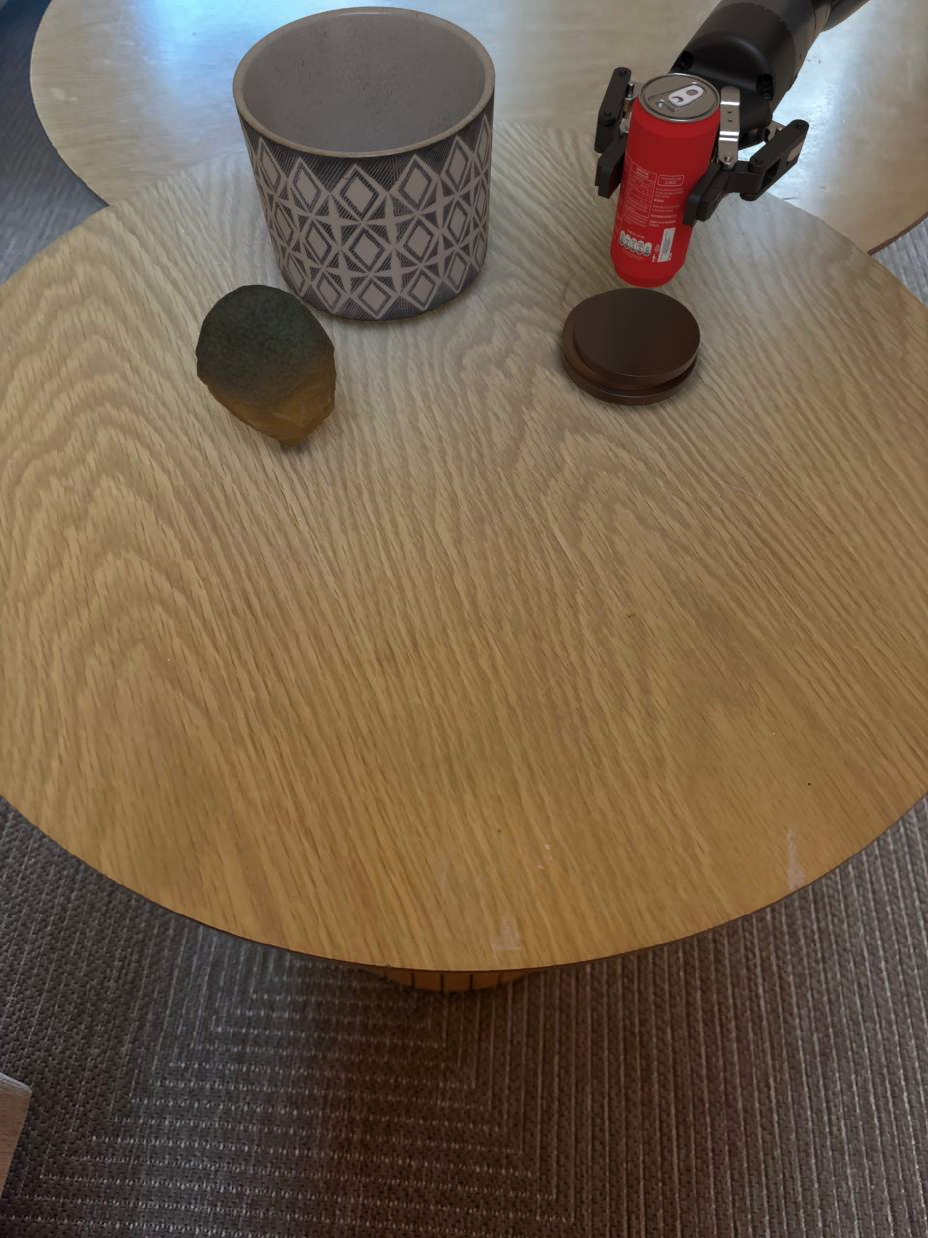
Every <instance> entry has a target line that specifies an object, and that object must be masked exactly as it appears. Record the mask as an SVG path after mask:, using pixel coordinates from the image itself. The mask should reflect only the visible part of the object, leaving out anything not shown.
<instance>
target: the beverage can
mask: <svg viewBox="0 0 928 1238" xmlns="http://www.w3.org/2000/svg"><path fill="white" fill-rule="evenodd" d="M643 83H644V84H643V86H642V87H641V89H640V91H639V96H638V97H637V98H636V100H635V101H634V104H633V108H632V112H631V113H630V118H631V120H630V126H629V133H628V139H627V145H626V152H625V158H624V164H623V171H622V177H621V183H620V185H619V190H618V196H617V203H616V209H615V217H614V222H613V227H612V235H611V241H610V248H609V256H610V259H611V261H612V264H613V270H614V273H615V275H616V276H617V277H618V279H620V280H621V281H622V282H623V283H625V284H626V285H629V286H631V287H632V288H642V289H649V290H654V289H659V288H662V287H663V286H666V285H668V284H669V283H670V282H672V280H674V278H675V276H676V274H677V273H678V272H679V271H680V270H681V269H682V267H683V266H684V264H685V262H686V259H687V258H686V257H687V254H688V250H689V246H690V243H691V238H692V234H693V230H694V227H690V226H687V225H684V224H682V221H683V217H684V213H685V208H686V204H687V200H688V197H689V195H690V193H691V191H692V190H693V188H694V187H695V185H696V184H697V182H698V181H699V179H700V178H701V176H702V175H704V173H705V172H706V171H707V169H708V166H709V162H710V158H711V154H712V150H713V146H714V142H715V138H716V134H717V130H718V125H719V121H720V117H721V111H720V107H719V104H720V96H719V93H718V91H717V90H716V88H715V87H714V86H713V85H712V84H710V83H709V82H707V81H706V80H704V79H702V78H699V77H697V76H693V75H689V74H682V73H669V74H666V73H664V74H659V75H656V76H654V77H651V78H649V79H648V80H647V81H645V82H643Z"/></svg>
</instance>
